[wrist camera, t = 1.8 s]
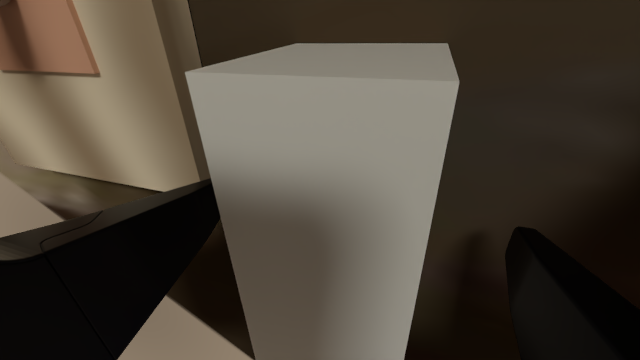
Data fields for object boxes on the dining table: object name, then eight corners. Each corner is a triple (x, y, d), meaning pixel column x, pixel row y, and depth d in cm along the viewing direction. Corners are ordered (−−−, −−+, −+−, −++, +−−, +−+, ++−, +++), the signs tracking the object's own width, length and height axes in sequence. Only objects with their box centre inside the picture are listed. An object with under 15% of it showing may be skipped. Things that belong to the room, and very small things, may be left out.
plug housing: (447, 43, 8) (459, 81, 4) (407, 281, 12) (392, 414, 8) (296, 43, 9) (184, 71, 5) (310, 259, 14) (256, 365, 10)
